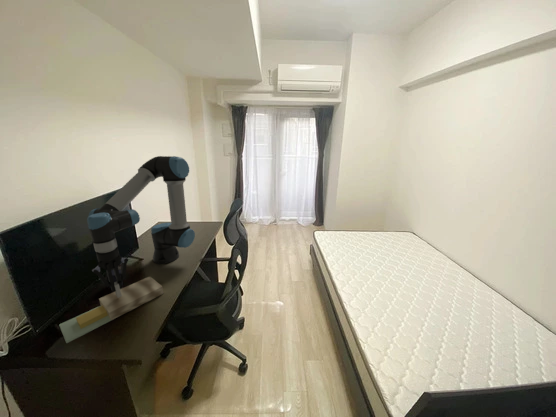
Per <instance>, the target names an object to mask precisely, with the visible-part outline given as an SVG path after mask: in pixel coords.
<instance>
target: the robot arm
mask: <svg viewBox="0 0 556 417" xmlns="http://www.w3.org/2000/svg"><path fill="white" fill-rule="evenodd" d="M189 174H190V166H189V164H188V162H187V161H186V159H184V158H183V157H181V156H174V155H173V156H170V155H168V156H164V155H162V156H161V155H159V156H155V157H152V158H151V159H149V160H147V161H145V163H143V164H142V165H141V166H140V167H139V168H138V169H137V173H135V175H133V176H132V177H131V178H130V179H129V180H128V181H127V182H126V183H125V184H124V185H123V186H122V187H121V188H120V189H119V190H118V191H116V193H114V195H113V196H111V197H110V198H109V199H108V200H107V201H106V202H105V203H104V204H103V205H102V206H101V207H100V208H94V209H92V210H90V211H89V213H88V216H87V218H86V223H87V228H88V230H89V233H90V234H89V235H90V237H91V241H92V243H93V247H94V248H93V249H94V251H95V254H96V260H97V263H96V265H97V266H96V267H95V268H92V269H91V271H92V273H93V274H94V275H97V277H98V278H99V279H100V280H101V282H102V283H103V285H104V286H105V287H106V288H108V286H111V288H110V289H111V292H112V293H113V292H115V294H116V296H117V297H118V298H119V297H121V296H122V295H121V291H120V289H122V288H123V285H122V281H125V280H126V279H127V278H126V277H127V276H126V275H127V265H128V263H129V258H127V257H125V256H124V257H123V256H121V255H120V252H119V247H118V242H117V239H116V234H115V233H117V232H119V231H122V230H125V229H127V228H131V227H134V226H135V225H137V224H138V223H139V222H140V219H141V217H140V214H139V213H138V211H137V210H136V209H133V208H132V209H126V208H127V206H129V205H130V204H131V202H132V201H134V199H135V198H136V197H137V196H138V195H139V194H140V193H141V192H142V191H143V190H144V189H145V188H146V187H147V186H148V185H149V184H150V183H151V182H154V181H156V179H159V178H161V177H162V180H163V182H164V183H165V184H166V187H167V188H166V189H167V190H166V191H167V199H168V205H169V206H168V208H169V216H170V222H161V223H158V224H156V225H154V226H152V227H151V229H150V232H151V233H150V234H151V238H152V244H153V248H154V249H153V256H152V261H153V262H154V264H158V265H159V264H160V265H163V264H169V263H171V262H174V261H176V260H177V259H178V258H179V256H180V253H179V250H178V249H177V248H181V249H182V248H184V249H185V248H189V247H190V246H191V245H192V244H193V242H194V240H195V237H196V232H195V231H194V229H192V228H191V225H190V223H189V222H188V221H187V211H186V200H185V198H186V197H185V189H184V188H185V187H184V183H185V182H186V180H187V179H186V178H187V177H189ZM125 209H126V210H125ZM120 263H121V267H120V269H119V265H120ZM101 269H102V270H105V272H106V277H107V276H108V280H109V282H107V278H106V277H105V276H104V275H103V274H102V272H101ZM111 269H113V270H114V274H115V277H116V281H117V282H115V283H114V280H113V276H112V271H111ZM118 269H119V270H121V277H120V274H119V270H118Z"/></svg>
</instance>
